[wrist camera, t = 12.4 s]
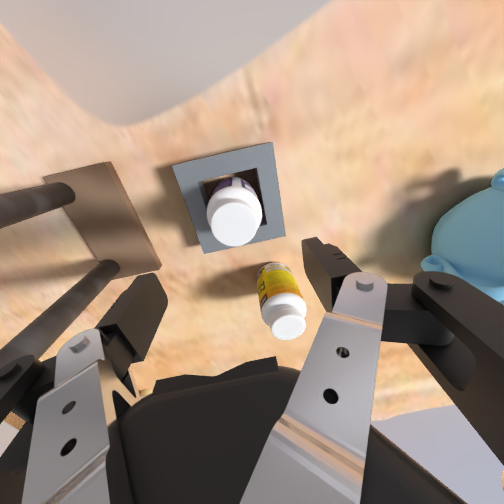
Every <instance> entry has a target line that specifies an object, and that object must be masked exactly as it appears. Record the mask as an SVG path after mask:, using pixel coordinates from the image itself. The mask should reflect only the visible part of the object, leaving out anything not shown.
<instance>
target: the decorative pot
mask: <svg viewBox="0 0 504 504" xmlns="http://www.w3.org/2000/svg"><path fill="white" fill-rule="evenodd" d="M491 186H492V187H490V188H487V189H485V190H482V191H480V192H478V193H475V194H474V195H472V196H470V197H468V198H466V199H465V200H463V201H462V202H460V203H459V204H457V205H456V206H454V207H453V208H451V209H450V210H449V211H448V212H446V213H445V214H444V215H443V216H442V217H441V218H440V220H439V221H438V223H437V224H436V226H435V228H434V231H433V235H432V243H431V252H432V255H430V256H427V257H425V258H424V259H423V260H422V262H421V268H422V269H423V271H439V272H445V273H449V274H452V275H455V276H457V277H460V278H461V279H463V280H465V281H466V282H468V283H469V284H471V285H473V286H474V287H476V288H477V289H479V290H480V291H482V292H484V293H485V294H487V295H488V296H490V297H492V298H493V299H495V300H496V301H498V302H499V303H501V304H503V305H504V168H503V169H501V170H499V171H498V172H497V173H496V174H495V175H494V177H493V178H492V180H491Z"/></svg>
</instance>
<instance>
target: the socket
mask: <svg viewBox="0 0 504 504" xmlns="http://www.w3.org/2000/svg"><path fill="white" fill-rule="evenodd" d="M172 168H173V171H174V173H175V176H176V179H177V181H178V184H179V187H180V190H181V192H182V195H183V198H184V201H185V203H186V206H187V209H188V212H189V214H190V217H191V220H192V222H193V225H194V228H195V231H196V233H197V236H198V239H199V242H200V244H201V247H202V250H203V253H204V254H206V253H211V252H215V251H220V250H224V249H229V248H233V247H238V246H227V245H225V244H222V243H221V242H219V241H218V240H217V239H216V238H215V236H214V235H213V233H212V230H211V227H210V225H209V223H208V220H207V206H208V203H209V200H208V197H207V194H206V191H205V187H204V184H203V181H202V180H206V179H210V178H214V177H219V176H223V175H227V174H232V173H236V172H240V171H245V170H249V169H253V168H255V170H256V175H257V180H258V186H259V191H260V197H261V202H262V207H263V213H264V217H262V219H261V223H260V225H259V227H258V229H257V231H256V234H255V235H254V237H253V238H252V239H251V240H250V241H249V242H248V243H246V244H244V245H247V244H252V243H256V242H261V241H265V240H270V239H275V238H279V237H284V236H286V234H285V227H284V220H283V212H282V205H281V198H280V191H279V184H278V177H277V169H276V162H275V155H274V148H273V142H268V143H264V144H260V145H255V146H251V147H247V148H243V149H238V150H234V151H230V152H226V153H221V154H217V155H213V156H209V157H204V158H200V159H196V160H192V161H187V162H183V163H179V164H176V165H173V166H172ZM241 246H243V245H241Z"/></svg>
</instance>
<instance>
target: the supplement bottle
mask: <svg viewBox="0 0 504 504" xmlns="http://www.w3.org/2000/svg"><path fill="white" fill-rule="evenodd" d="M257 288H258V295H259V302H260V308H261V315H262V318H263V320H264V322H265V323H266V324H267V325H268V326H270V328H271V332H272V334H273V335H274V336H275V337H276V338H278V339H281V340H290V339H294V338H296V337H298V336H300V335H301V334H302V333H303V331H304V330H305V326H306V324H305V320H304V317H305V315H306V305H305V302H304V300H303V297H302V295H301V293H300V291H299V288H298V286H297V284H296V281H295V279H294V277H293V274H292V272H291V270H290V269H289V268H288V267H287V266H286V265H285V264H282V263H278V262H273V263H269V264H266V265H265V266H263V267H262V268H261V269H260V270H259V272H258V274H257Z"/></svg>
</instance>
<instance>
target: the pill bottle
mask: <svg viewBox="0 0 504 504" xmlns="http://www.w3.org/2000/svg"><path fill="white" fill-rule="evenodd" d="M261 219H262V209H261V205H260V202H259V200H258V198H257V195H256V193H255V191H254V189H253V187H252V186H251V185H250V184H249V183H248V182H247V181H246V180H244V179H242V178H238V177H230V178H226V179H224V180H222V181H221V182H220V183H219V184H218V185H217V186H216V188H215V189H214V192H213V194H212V196H211V198H210V201H209V203H208V206H207V220H208V223H209V225H210V227H211V230H212V233H213V235H214V236H215V238H216V239H217V240H218V241H219V242H221V243H222V244H225V245H227V246H241V245H244V244H246V243H248V242H249V241H250V240H251V239H252V238H253V237H254V235H255V234H256V231H257V229H258V227H259V225H260V223H261Z"/></svg>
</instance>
